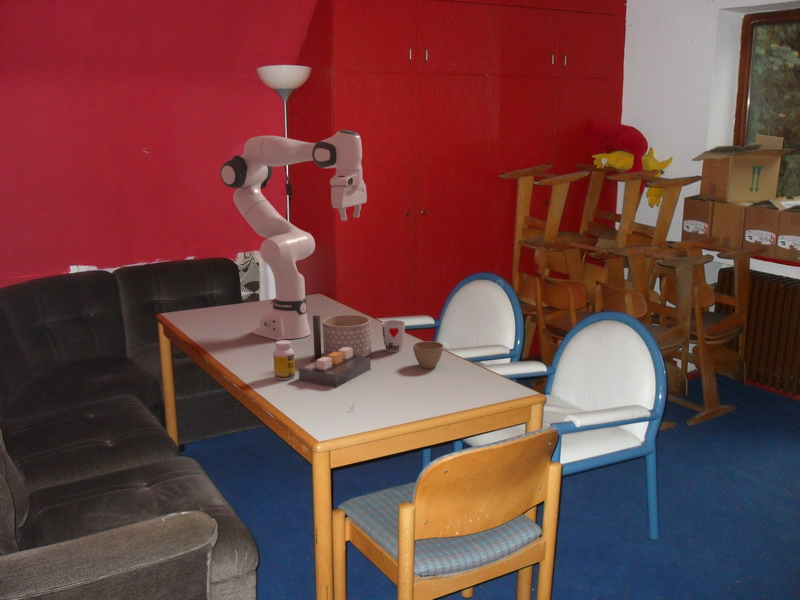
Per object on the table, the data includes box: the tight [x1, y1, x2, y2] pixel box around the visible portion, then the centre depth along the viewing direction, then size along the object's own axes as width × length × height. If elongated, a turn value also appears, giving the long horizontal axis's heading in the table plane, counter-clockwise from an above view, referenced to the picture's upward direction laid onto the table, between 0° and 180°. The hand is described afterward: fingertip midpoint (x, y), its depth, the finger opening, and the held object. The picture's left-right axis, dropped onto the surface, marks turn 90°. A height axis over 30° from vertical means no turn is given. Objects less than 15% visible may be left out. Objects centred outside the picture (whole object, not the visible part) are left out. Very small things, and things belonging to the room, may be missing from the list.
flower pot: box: [412, 340, 444, 369], centre depth 249 cm, size 10×10×7 cm
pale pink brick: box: [338, 347, 353, 359], centre depth 246 cm, size 3×4×3 cm
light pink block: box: [316, 356, 332, 370], centre depth 236 cm, size 3×4×3 cm
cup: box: [381, 319, 406, 353], centre depth 267 cm, size 8×8×10 cm
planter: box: [322, 314, 372, 357], centre depth 261 cm, size 16×16×13 cm
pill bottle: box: [273, 339, 296, 381], centre depth 239 cm, size 6×6×12 cm
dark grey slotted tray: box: [298, 355, 372, 388], centre depth 242 cm, size 14×20×4 cm
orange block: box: [328, 352, 343, 364], centre depth 241 cm, size 3×4×3 cm
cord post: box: [310, 314, 323, 363], centre depth 254 cm, size 5×5×16 cm
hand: (350, 218), depth 262 cm, fingers open, 8 cm apart
